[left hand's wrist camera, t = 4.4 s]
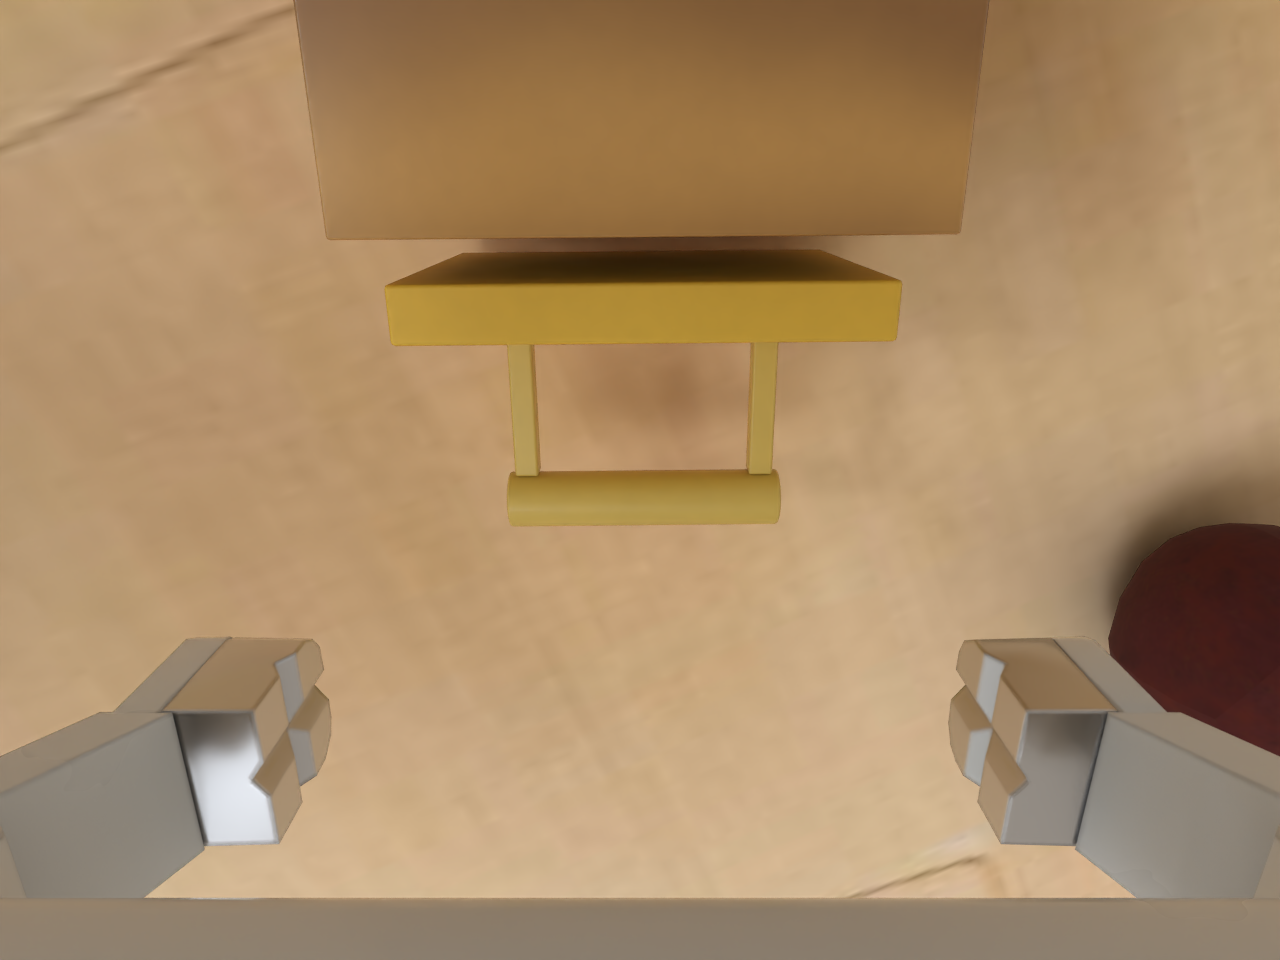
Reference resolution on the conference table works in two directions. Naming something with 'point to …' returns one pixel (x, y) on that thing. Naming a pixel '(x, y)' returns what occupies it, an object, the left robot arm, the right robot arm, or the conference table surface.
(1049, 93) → the conference table surface
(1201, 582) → the dark red ball
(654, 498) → the drawer
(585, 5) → the cabinet
